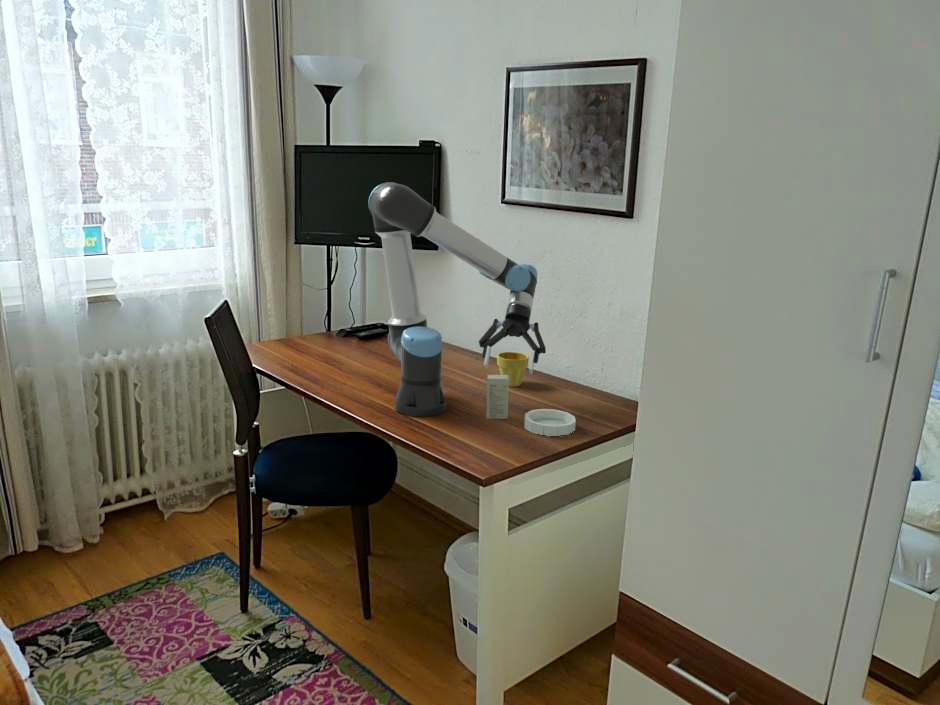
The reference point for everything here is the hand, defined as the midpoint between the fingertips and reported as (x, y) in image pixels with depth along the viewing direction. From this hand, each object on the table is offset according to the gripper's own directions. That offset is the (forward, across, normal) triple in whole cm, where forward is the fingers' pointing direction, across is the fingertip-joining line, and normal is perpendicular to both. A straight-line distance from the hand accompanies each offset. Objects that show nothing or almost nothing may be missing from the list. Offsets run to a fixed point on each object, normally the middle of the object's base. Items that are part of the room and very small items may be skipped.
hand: (507, 369), depth 218 cm
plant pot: (-9, +3, -27) cm, 28 cm away
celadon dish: (+17, -15, 0) cm, 23 cm away
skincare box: (+15, +1, -3) cm, 15 cm away
